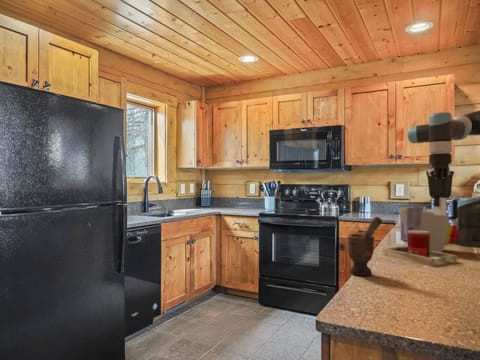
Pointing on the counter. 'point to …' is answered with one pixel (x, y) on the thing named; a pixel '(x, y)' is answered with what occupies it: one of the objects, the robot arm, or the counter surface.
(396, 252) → the slot frame
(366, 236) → the mortar and pestle
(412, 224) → the cake pan box
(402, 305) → the counter surface
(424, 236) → the canned food
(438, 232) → the electrical switch box
